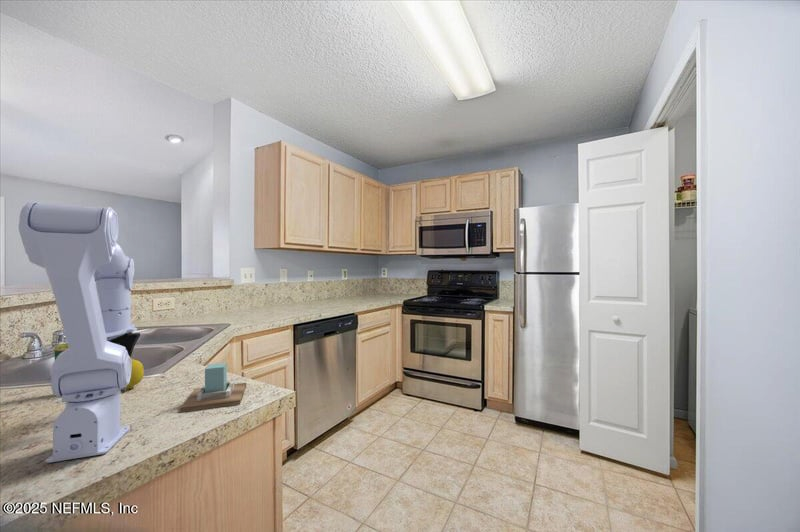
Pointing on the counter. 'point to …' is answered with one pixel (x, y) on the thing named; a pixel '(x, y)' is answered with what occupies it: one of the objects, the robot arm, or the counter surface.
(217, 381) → the square peg
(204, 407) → the socket
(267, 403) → the counter surface
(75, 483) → the counter surface
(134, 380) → the lemon
